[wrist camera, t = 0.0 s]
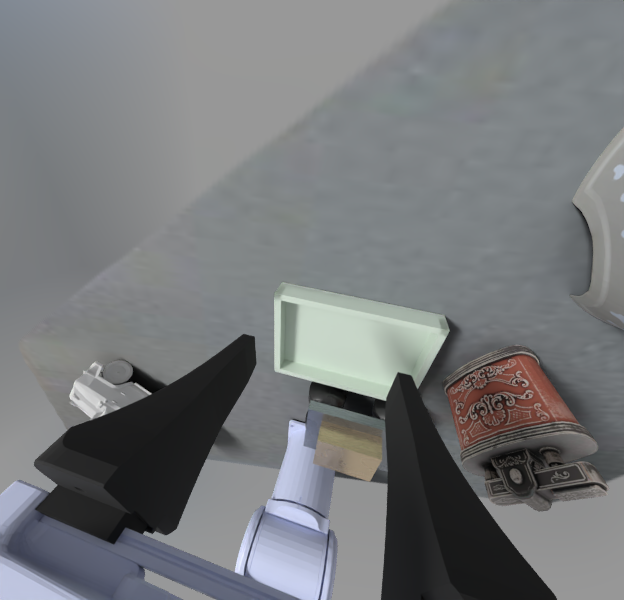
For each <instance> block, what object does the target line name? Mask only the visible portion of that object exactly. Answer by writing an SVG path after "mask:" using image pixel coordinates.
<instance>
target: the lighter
mask: <svg viewBox="0 0 624 600" xmlns="http://www.w3.org/2000/svg"><path fill="white" fill-rule="evenodd" d="M443 387H444V391H445V393H446V395H447V396H448V399H449V403H450V407H451V411H452V415H453V418H454V422H455V426H456V430H457V434H458V438H459V442H460V446H461V450H462V451H461V452H460V457H461V461H462V465H463V467H464V469H465V470H467V471H468V472H470V473H472V474H475V475H478V476H484V477H485V482H484V483H485V486H486V490H487V493H488V497H489V500H490V501H491V502H493V503H494V504H496V505H499V506H507V505H515V504H522V503H525V504H527V505H528V506H530V507H531V508H533V509H535V510H537V511H547V510H549V509H550V508H551V505H552V500H553V499H558V498H559V499H560V500H562V501H570V500H576V499H585V498H592V497H600V496H606V495H608V493H607V492H606V491H608V490H609V487H608V485H607V484H606V482H605V481H604V479H603V478H602V476H601V475H600V473H599V472H598V470H597V468H596V467H595V466H594V465H592V464H590V463H588V462H574V463H569V464H565V463H568V462H571V461H574V460H577V459H580V458H583V457H586V456H589V455H591V454H593V453H595V452H596V451H597V450H598V444H597V443H596V441H595V440H594V438H593V437H592V435H591V434H590V433H589V431H588V430H587V429H586V428H585V427H583V426H581V425H580V424H579V423H578V421H577V420H576V418H575V417H574V415H573V414H572V413H571V411H570V410H569V408H568V407H567V405H566V404H565V402H564V401H563V399H562V398H561V397H560V395H559V394H558V392H557V391H556V389H555V388H554V386H553V385H552V384H551V382H550V381H549V379H548V378H547V376H546V375H545V373H544V372H543V370H542V369H541V368H540V366H539V360H538V359H537V357H536V356H535V354H534V353H533V352H532V351H531V349H529V348H527V347H526V346H521V345H511V346H507V347H505V348H502V349H499V350H496V351H494V352H491V353H488V354H486V355H484V356H482V357H479V358H477V359H475V360H473V361H471V362H469V363H467V364H466V365H464V366H463V367H461V368H459V369H458V370H456V371H455V372H453V373H452V374H451V375H449V376H448V377H447V378H446V379H445V380H444V381H443ZM549 467H550V468H549ZM500 476H501V477H502V478H500Z"/></svg>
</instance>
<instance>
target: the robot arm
mask: <svg viewBox="0 0 624 600" xmlns="http://www.w3.org/2000/svg"><path fill="white" fill-rule="evenodd" d="M255 366H256V350H255V337H254V336H249V335H245V334H243V335H241V336H240V337H239V338H237V339H236V340H235V341H234V342H232V343H231V344H230V345H228V346H227V347H226V348H224V349H223V350H222V351H220V352H219V353H218V354H216V355H215V356H213V357H212V358H211V359H209V360H208V361H206V362H205V363H204V364H202V365H201V366H199V367H197V368H196V369H194V370H193V371H191V372H190V373H188V374H187V375H185V376H183V377H182V378H180V379H178V380H177V381H175V382H173V383H171V384H170V385H168V386H166V387H164V388H162V389H160V390H158V391H157V392H155V393H153V394H151V395H149V396H147V397H145V398H143V399H141V400H138V401H136V402H134V403H132V404H129V405H127V406H125V407H123V408H120V409H118V410H115V411H113V412H111V413H108V414H106V415H103V416H100V417H98V418H95V419H92V420H90V421H87V422H84V423H82V424H79V425H76V426H73V427H71V428H70V429H69V430H68V431H66V433H64V434H63V435H62V436H61V437H60V438H59V439H58V440H57V441H56V442H54V443H53V444H52V445H51V446H50V447H49V448H48V449H47V450H46V451H45V452H44V453H43V454H41V455H40V456H39V457H38V458H37V459H36V460H35V462H34V466H35V467H36V468H37V469H38V470H39V471H40V472H42V473H43V474H44V475H46V476H47V477H48V478H50V479H51V480H52V481H53V482H55V483H56V484H57V485H58V486H57V487H56V488H55V489H54V490H53V491H52V492H51V493H49V492H47V491H45V490H43V489H41V488H39V487H36V486H34V485H31V484H29V483H26V482H24V481H22V480H17V481H15V482H14V483H13V484H11V485H10V486H9V487H8V488H7V489H6V490H5V491H4V492H3V493H2V494H1V495H0V600H183V599H181V598H179V597H177V596H175V595H173V594H170V593H169V592H167V591H165V590H163V589H161V588H159V587H157V586H155V585H152V584H150V583H148V582H146V581H144V577H145V570H144V569H143V568H145V569H147V570H149V571H152V572H154V573H156V574H159V575H161V576H163V577H166V578H168V579H170V580H172V581H175V582H177V583H179V584H182V585H184V586H186V587H189V588H191V589H193V590H195V591H198V592H200V593H202V594H205V595H207V596H209V597H212V598H214V599H216V600H331V598H332V592H333V586H334V579H335V571H336V561H337V547H338V546H337V538H336V536H335V534H334V531H333V530H330V529H329V524H330V520H328V516H329V510H330V503H331V496H332V488H333V482H334V476H335V471H334V470H331V469H328V468H325V467H322V466H319V465H316V464H313V460H314V455H315V449H312V448H309V447H305V446H303V445H304V437H305V430H306V428H305V423H302V422H298V421H295V420H290V422H289V435H288V447H287V450H286V453H285V457H284V460H283V463H282V466H281V469H280V473H279V476H278V479H277V482H276V486H275V489H274V492H273V495H272V499H268V502H267V505H266V506H261V507H260V508H258V509H257V510H256V511H255V512H254V514H253V516H252V517H251V520H250V522H249V524H248V527H247V530H246V532H245V536H244V538H243V541H242V544H241V548H240V551H239V555H238V559H237V563H236V568H235V572H233V571H230V570H228V569H226V568H223V567H221V566H218V565H216V564H214V563H211V562H209V561H206V560H204V559H201V558H199V557H196V556H194V555H192V554H189V553H187V552H184V551H182V550H179V549H177V548H174V547H172V546H170V545H167V544H165V543H162V542H160V541H157V540H155V539H152V538H150V537H148V536H145V535H143V533H144V531H147V532H149V533H152V534H153V533H154V532H155V531H156V532H159V533H162V534H164V535H168V534H170V533H171V532H173V531H174V530H176V529H177V526H178V524H179V521H180V519H181V516H182V514H183V511H184V509H185V506H186V504H187V502H188V499H189V497H190V494H191V492H192V490H193V487H194V485H195V483H196V480H197V478H198V476H199V473H200V471H201V469H202V467H203V465H204V462H205V460H206V458H207V456H208V454H209V452H210V449H211V447H212V445H213V443H214V441H215V439H216V437H217V435H218V433H219V431H220V429H221V427H222V425H223V423H224V422H225V420H226V418H227V417H228V415H229V413H230V412H231V410H232V408H233V407H234V405H235V403H236V402H237V400H238V398H239V397H240V395H241V393H242V392H243V390H244V388H245V386H246V385H247V383H248V381H249V379H250V377H251V375H252V373H253V370H254V368H255ZM385 432H386V450H387V468H388V493H387V517H386V538H385V554H384V569H383V581H382V594H381V600H557V598H556V596H555V595H554V593H553V592H552V591H551V590H550V589H549V588H548V586H547V585H546V584H545V583H544V582H543V580H542V579H541V578H540V577H539V576H538V575H537V573H536V572H535V571H534V570H533V568H532V567H531V566H530V565H529V564H528V562H527V561H526V560H525V559H524V558H523V557H522V555H521V554H520V553H519V551H518V550H517V549H516V548H515V546H514V545H513V544H512V543H511V541H510V540H509V539H508V537H507V536H506V535H505V533H504V532H503V531H502V530H501V528H500V527H499V526H498V524H497V523H496V522H495V520H494V519H493V517H492V516H491V515H490V513H489V512H488V510H487V509H486V508H485V506H484V505H483V503H482V502H481V501H480V499H479V498H478V497H477V495H476V494H475V492H474V491H473V489H472V488H471V486H470V485H469V483H468V482H467V480H466V479H465V477H464V476H463V474H462V473H461V471H460V469H459V468H458V466H457V465H456V463H455V461H454V460H453V458H452V456H451V455H450V453H449V451H448V450H447V448H446V446H445V444H444V442H443V441H442V439H441V437H440V435H439V433H438V431H437V430H436V428H435V426H434V424H433V422H432V420H431V418H430V416H429V414H428V412H427V409H426V407H425V405H424V403H423V401H422V399H421V396H420V394H419V392H418V389H417V387H416V385H415V382H414V380H413V377H412V376H411V375H408V374H404V373H400V372H397V375H396V377H395V379H394V381H393V384H392V386H391V388H390V390H389V393H388V395H387V397H386V409H385Z"/></svg>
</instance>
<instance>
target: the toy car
mask: <svg viewBox="0 0 624 600" xmlns="http://www.w3.org/2000/svg"><path fill="white" fill-rule="evenodd" d="M103 366H104V365H102V364H101V363H99V362H97V361H96V362H94V363H93V364H92V365H91V367H90V368H89V369H88V370H86V371H85V370H84V371H83V373H84V374H83V375H82V376H81V377H79V378H78V379H77V380H76V381H75V383H74V386H73V389H72V391H71V393H70V399H71V403H70V402H69V403H70V404H72V405H73V406H75V407H76V406H78V407H79V408H80V409H81V410H82V411H83V412H84V413H86V414H87V415H88V416H89V417H90V418H91V419H90V420H92V419H95V418H98V417H100V416H103V415H106V414H108V413H111V412H113V411H115V410H118V409H120V408H123V407H125V406H127V405H129V404H132V403H134V402H136V401H138V400H141V399H143V398H145V397H147V396H149V395H151V394H152V393H150V392H149V391H148V390H146V389H145V388H143V387H142V386H140V385H139V384H137V383H135V384H133V382H128V383H126V382H127V381H128V380H129V379H130V377H131V376H132V373H133V368H132V366H131V364H129V363H128V362H126V361H121V360H117V361H113V362H111V363H109V364H108V365H107V366H105V368H104V370H103V372H101V370H102V367H103ZM100 373H102V374H101V375H102V376H100ZM123 383H124V384H123ZM90 420H89V421H90Z"/></svg>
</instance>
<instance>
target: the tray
mask: <svg viewBox="0 0 624 600" xmlns="http://www.w3.org/2000/svg"><path fill="white" fill-rule="evenodd" d="M274 317H275V371H276V372H279V373H283V374H287V375H291V376H294V377H298V378H302V379H306V380H309V381H313V382H317V383H321V384H325V385H328V386H332V387H336V388H340V389H343V390H347V391H351V392H355V393H358V394H362V395H366V396H370V397H374V398H377V399H381V400H385V401H386V397H387V395H388V393H389V390H390V388H391V386H392V384H393V381H394V379H395V377H396V375H397V372H400V373H404V374H408V375H411V376H412V377H413V380H414V382H415V385H416V387H417V389H418V388H419V386H420V384H421V382H422V381H423V379H424V377H425V375H426V373H427V371H428V370H429V368H430V366H431V364H432V362H433V360H434V359H435V357H436V355H437V353H438V351H439V350H440V348H441V346H442V344H443V342H444V340H445V339H446V337H447V335H448V333H449V331H450V330H449V327H448V324H447V321H446V318H445V315H440V314H435V313H431V312H426V311H421V310H416V309H411V308H406V307H401V306H396V305H392V304H387V303H382V302H377V301H372V300H367V299H362V298H357V297H353V296H348V295H343V294H338V293H333V292H328V291H323V290H318V289H313V288H309V287H304V286H299V285H294V284H289V283H284V282H282V283H281V285H280V286H279V288H278V289H277V290H276V292H275V293H274Z"/></svg>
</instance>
